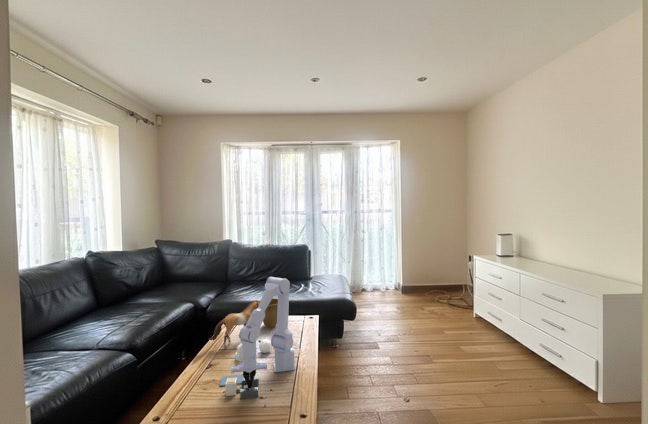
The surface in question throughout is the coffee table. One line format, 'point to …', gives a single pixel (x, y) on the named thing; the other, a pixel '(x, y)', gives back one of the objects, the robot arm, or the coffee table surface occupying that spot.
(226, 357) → the coffee table surface
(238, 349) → the white wedge bracket
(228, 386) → the wall lamp
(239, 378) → the mat
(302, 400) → the coffee table surface
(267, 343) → the ornament
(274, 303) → the plant pot
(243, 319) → the horse figurine
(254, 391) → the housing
